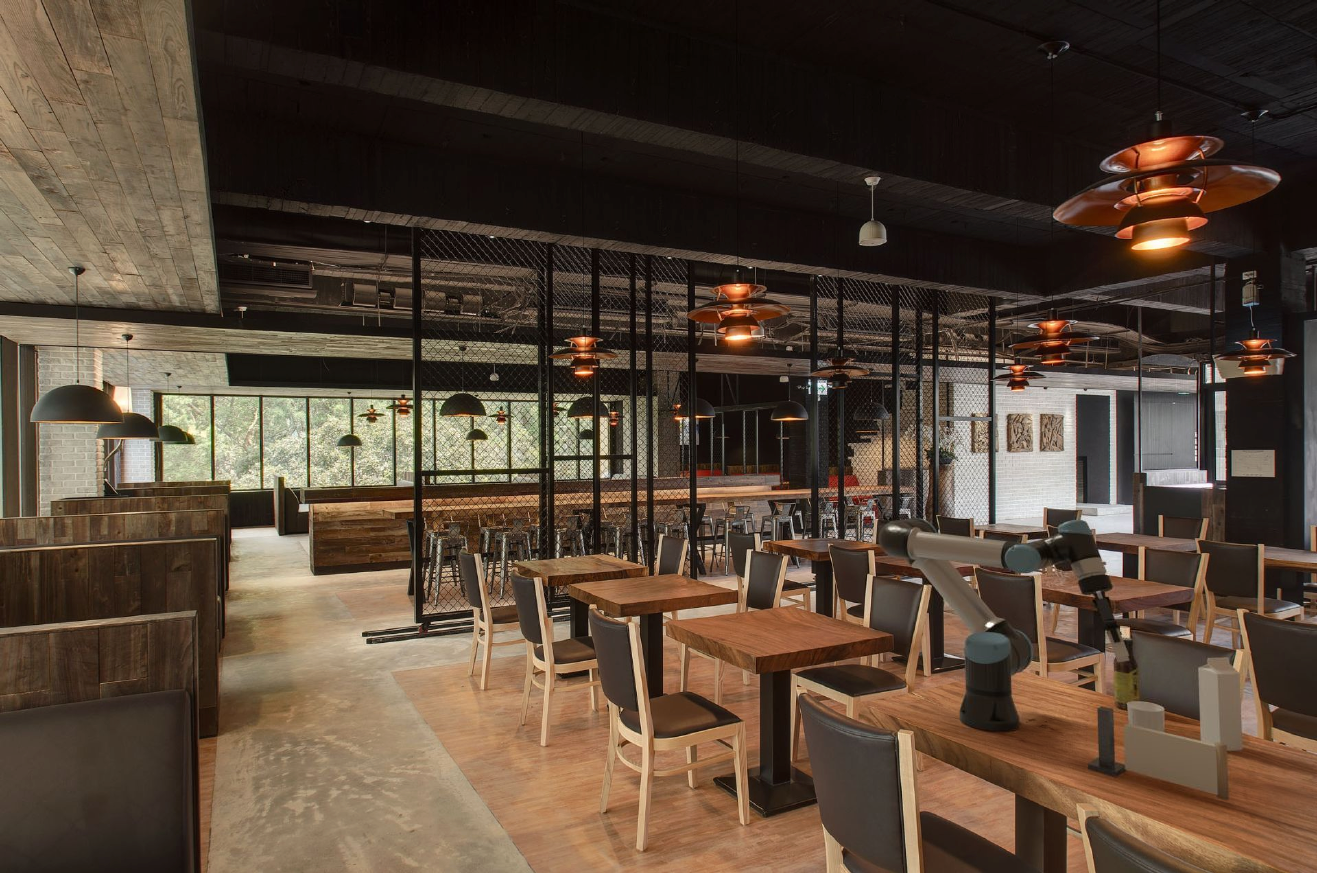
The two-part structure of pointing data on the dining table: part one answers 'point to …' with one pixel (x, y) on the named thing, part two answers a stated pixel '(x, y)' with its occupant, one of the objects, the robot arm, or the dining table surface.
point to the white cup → (1146, 715)
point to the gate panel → (1177, 759)
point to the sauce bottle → (1126, 678)
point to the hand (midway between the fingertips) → (1123, 659)
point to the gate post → (1106, 745)
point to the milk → (1220, 703)
